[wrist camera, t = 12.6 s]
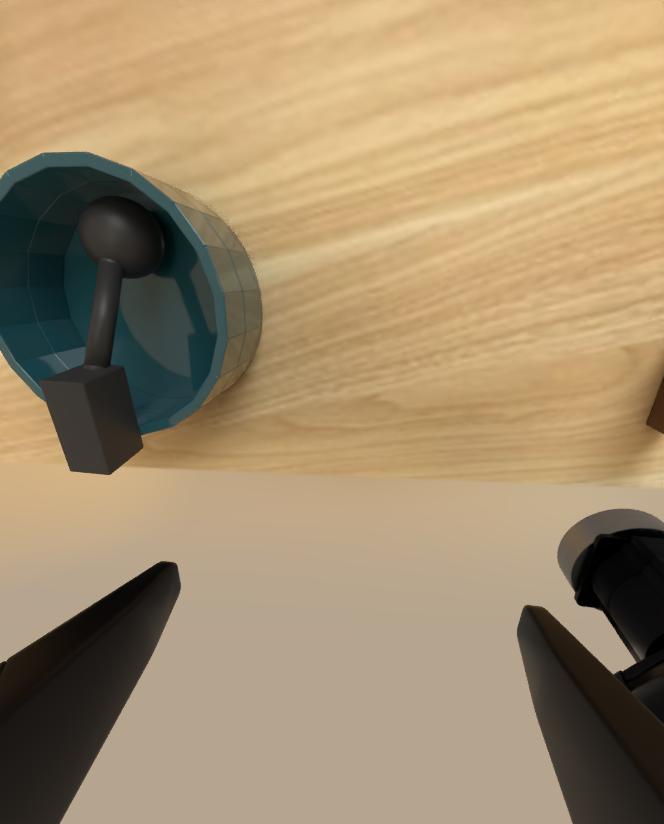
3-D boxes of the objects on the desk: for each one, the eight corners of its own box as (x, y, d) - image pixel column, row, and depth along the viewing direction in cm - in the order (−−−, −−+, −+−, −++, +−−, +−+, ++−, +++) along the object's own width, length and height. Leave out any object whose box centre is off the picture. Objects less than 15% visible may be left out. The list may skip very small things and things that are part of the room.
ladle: (107, 200, 18) (-59, 170, 11) (172, 200, 18) (42, 169, 11) (151, 405, 23) (54, 470, 16) (203, 409, 22) (126, 477, 16)
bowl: (267, 408, 22) (236, 443, 17) (90, 396, 23) (18, 426, 19) (256, 183, 18) (211, 148, 13) (40, 185, 19) (-70, 154, 14)
